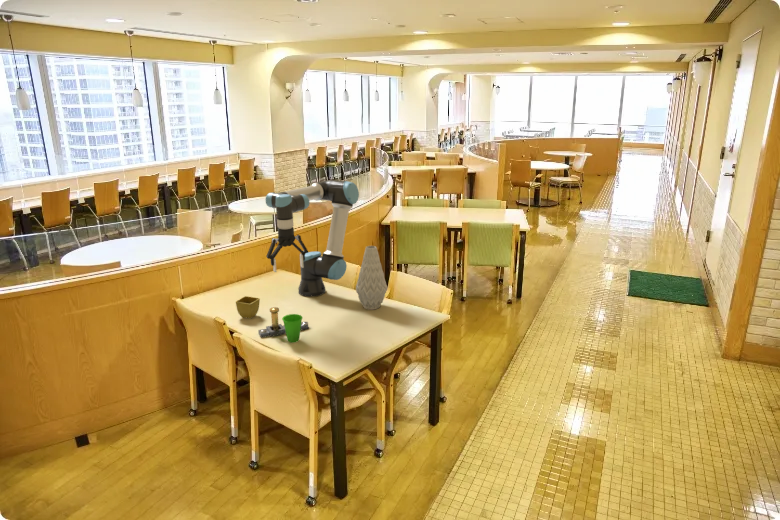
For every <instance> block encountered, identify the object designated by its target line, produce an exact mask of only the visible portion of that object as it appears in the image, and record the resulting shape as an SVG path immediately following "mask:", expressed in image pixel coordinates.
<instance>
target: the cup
mask: <svg viewBox="0 0 780 520" xmlns="http://www.w3.org/2000/svg"><path fill="white" fill-rule="evenodd" d="M281 320H282V321H283V325H284V326H285V331H286V333H285V335H286V339H287V342H288V343H297V342H299V340H300V337H301V336H300V335H301V331H302V330H301V322H303V321H302V320H303V316H302V315H301V314H298V313H289V314H286V315H284V316H283V317H282V319H281Z"/></svg>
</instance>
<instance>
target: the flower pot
mask: <svg viewBox="0 0 780 520" xmlns="http://www.w3.org/2000/svg"><path fill="white" fill-rule="evenodd" d="M260 300H261V298H260V297H253V296H247V295H246V296H245V295H244V296H243V297H241V298H239V299H238V300H237V299H236V301H235V307H236V310H237V313H238V314H239V316H240V317H241V318H245V319H252V318H254V317H255V316H256V315H257V314H258V312H259V310H260Z"/></svg>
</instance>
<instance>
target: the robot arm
mask: <svg viewBox="0 0 780 520" xmlns="http://www.w3.org/2000/svg"><path fill="white" fill-rule="evenodd" d="M359 197H360V192H359V189H358V186H357V184H356V183H354V182H353V181H348V180H346V181H345V180H336V179H328V180H323V181H322V180H321V181H319V182H313V183H312V184H311V185H309V186H303V187H299V188H295V189H290V190H286V191H281V192H268V193H267V194H266V196H265V199H264V201H265V204H266V206H267V207H269V208H271V209H275V212H276V220H277V221H276V223H277V224H276V225H277V236H278V237H277V238H274V237H272V238H271V244H270V246H269V248H268V250H267V254H266V256H265V257H266V258H267V259H269V260H270V265H271V266H272V267H273V272H274V273H277V261H276V256H277V255H278V253H279V252H280V251H281V249H282V248H283V247H285V248H286V247H291V246H293V247H294V248H295V249H296V250H298V252H299V263H300V264H299V266H300V279H301V280H300V283H299V285H298V294H299V295H300V296H303V297H309V298H310V297H318V296H321V295H324V294H326V286H325V283H324V280H323V279H327V280H334V281H335V280H336V281H338V280H340V279H342V277H344V276H345V273H346V271H347V266H348V265H347V262H346V260H344V258H345V256H344V255H343V248H344V243H345V242H344V241H345V235H346V230H347V224H348V219H349V218H348V217H349V211H350V210H351V209H353V205H355V204H357V203H358V200H359ZM310 201H329V202H331V203H330V204H331V205H332V207H333V209H332V210H333V211H332V215H331V220H330V226H329V232H328V239H327V243H326V249H325V251H324V252H321V251H309V250H308V248H307V247H306V245H305V243H304V241H302V240H303V239H302V236H301V235H300V234H297V235H295V229H294V213H297V212H300V211H304V210H306V209H308V208H309V207H310ZM295 240H296V241H298V243H299V245H300V246H301V248H300V247H299V246H298V245H297V244H296V243H295ZM277 243H278V244H277ZM276 244H277V246H276ZM275 247H276V248H275Z"/></svg>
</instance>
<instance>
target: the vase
mask: <svg viewBox="0 0 780 520" xmlns="http://www.w3.org/2000/svg"><path fill="white" fill-rule="evenodd" d="M362 257H363V258H362V262H361V266H360V269H359V274H358V278H357V282H356V285H355V291H356V293H357V295H358V296H357V297H358V300H359V302H360V303H361V305H362V307H363V309H365V310H369V311H370V310H378V309H379V308H380V307H381V306H382V303H383V301H384V299H385V295H386V293H387V291H388V285H387V282H386V279H385V273H384V271H383V267H382V263H381V260H380V255H379V251H378V248H377V246H376V245H368V246H367V245H366V246H365V249H364V253H363V256H362Z"/></svg>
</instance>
